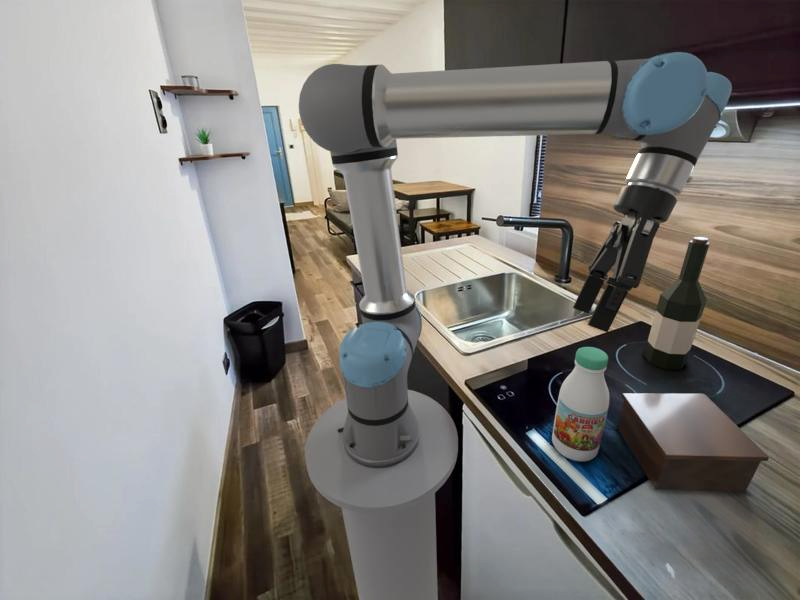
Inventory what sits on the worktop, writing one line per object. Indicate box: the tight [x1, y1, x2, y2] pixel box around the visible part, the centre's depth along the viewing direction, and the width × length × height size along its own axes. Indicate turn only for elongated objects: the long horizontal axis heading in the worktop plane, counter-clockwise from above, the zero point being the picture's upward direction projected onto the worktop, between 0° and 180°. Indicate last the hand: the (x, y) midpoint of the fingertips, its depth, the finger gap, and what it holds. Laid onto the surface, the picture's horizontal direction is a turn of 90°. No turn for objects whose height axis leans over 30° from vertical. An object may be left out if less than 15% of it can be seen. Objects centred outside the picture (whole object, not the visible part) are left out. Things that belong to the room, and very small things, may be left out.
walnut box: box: [616, 392, 770, 493], centre depth 61 cm, size 14×14×8 cm
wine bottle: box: [643, 236, 711, 370], centre depth 81 cm, size 8×8×30 cm
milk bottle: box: [551, 346, 610, 462], centre depth 62 cm, size 8×8×20 cm
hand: (587, 318), depth 60 cm, fingers open, 13 cm apart
